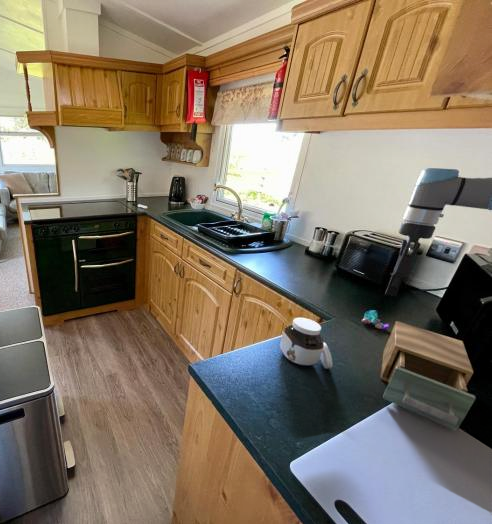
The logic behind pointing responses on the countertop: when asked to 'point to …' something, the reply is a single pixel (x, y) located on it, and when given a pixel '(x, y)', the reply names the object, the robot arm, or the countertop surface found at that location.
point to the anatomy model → (368, 320)
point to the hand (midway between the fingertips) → (390, 294)
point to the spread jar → (305, 344)
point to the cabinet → (425, 349)
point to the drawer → (428, 389)
